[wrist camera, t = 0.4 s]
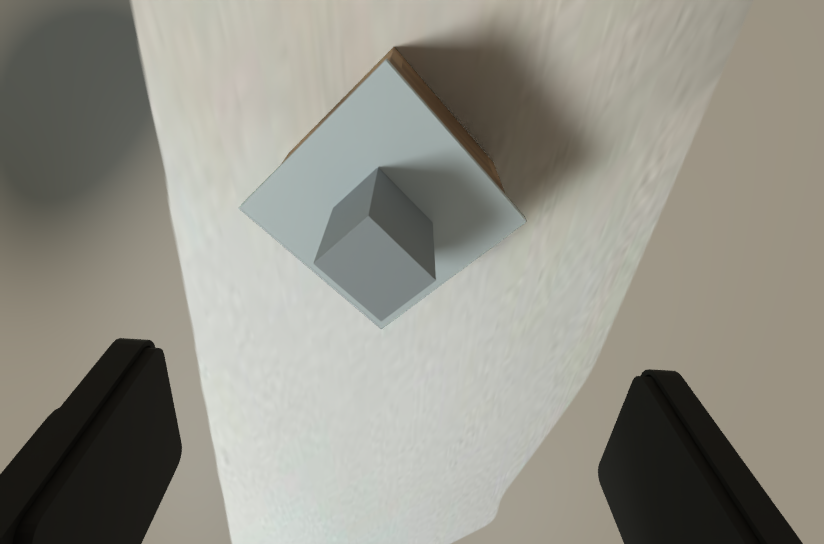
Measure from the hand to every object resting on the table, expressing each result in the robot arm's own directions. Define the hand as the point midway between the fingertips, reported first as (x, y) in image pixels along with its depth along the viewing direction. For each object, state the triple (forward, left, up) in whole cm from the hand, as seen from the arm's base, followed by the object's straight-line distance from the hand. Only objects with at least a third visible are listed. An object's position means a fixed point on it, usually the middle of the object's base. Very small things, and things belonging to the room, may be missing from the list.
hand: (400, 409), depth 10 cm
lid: (+5, +3, -24) cm, 24 cm away
